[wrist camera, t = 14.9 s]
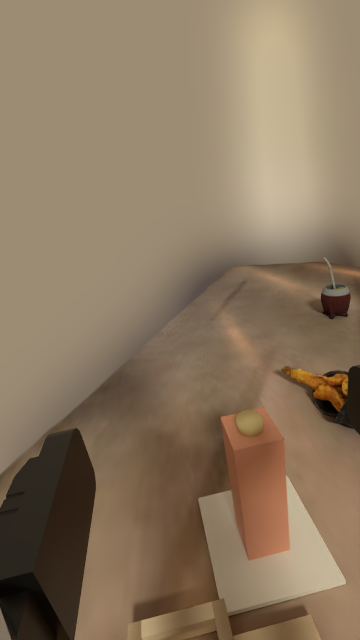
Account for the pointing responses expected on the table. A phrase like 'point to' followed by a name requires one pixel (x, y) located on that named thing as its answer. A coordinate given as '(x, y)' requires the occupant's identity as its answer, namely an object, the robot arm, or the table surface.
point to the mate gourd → (335, 298)
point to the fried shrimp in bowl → (326, 391)
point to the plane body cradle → (216, 626)
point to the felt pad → (266, 558)
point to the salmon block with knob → (257, 481)
